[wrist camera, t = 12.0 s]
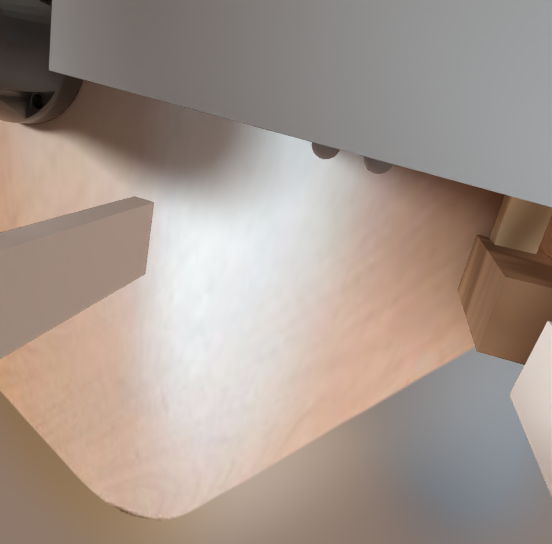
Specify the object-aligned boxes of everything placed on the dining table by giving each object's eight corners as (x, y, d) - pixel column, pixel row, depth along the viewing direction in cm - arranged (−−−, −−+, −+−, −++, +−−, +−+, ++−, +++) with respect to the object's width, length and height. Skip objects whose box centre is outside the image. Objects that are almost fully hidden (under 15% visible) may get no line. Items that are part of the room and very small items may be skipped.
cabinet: (235, 119, 39) (47, 99, 19) (277, -97, 34) (74, -454, 13) (523, 197, 35) (683, 283, 14) (629, -39, 29) (1146, -459, 9)
